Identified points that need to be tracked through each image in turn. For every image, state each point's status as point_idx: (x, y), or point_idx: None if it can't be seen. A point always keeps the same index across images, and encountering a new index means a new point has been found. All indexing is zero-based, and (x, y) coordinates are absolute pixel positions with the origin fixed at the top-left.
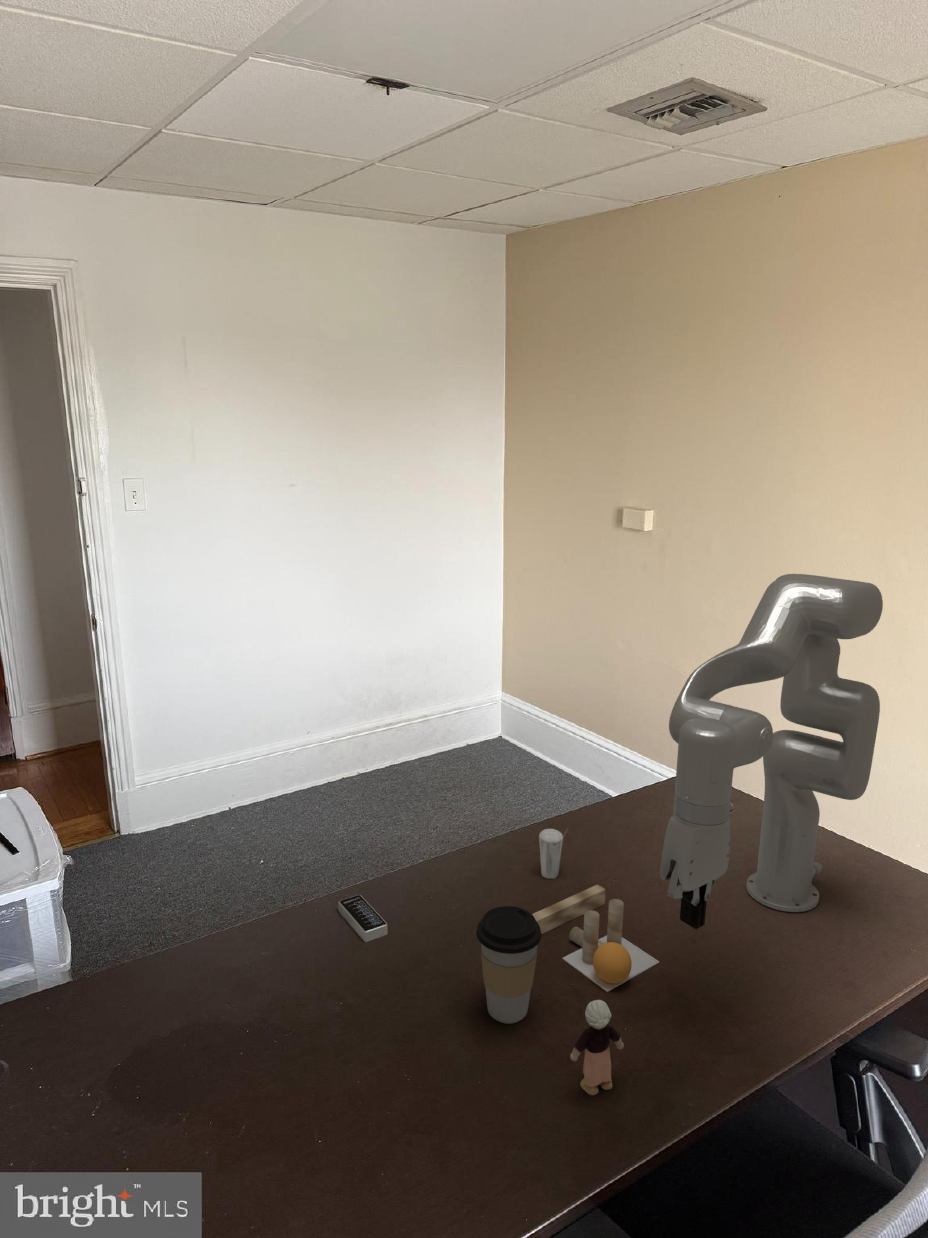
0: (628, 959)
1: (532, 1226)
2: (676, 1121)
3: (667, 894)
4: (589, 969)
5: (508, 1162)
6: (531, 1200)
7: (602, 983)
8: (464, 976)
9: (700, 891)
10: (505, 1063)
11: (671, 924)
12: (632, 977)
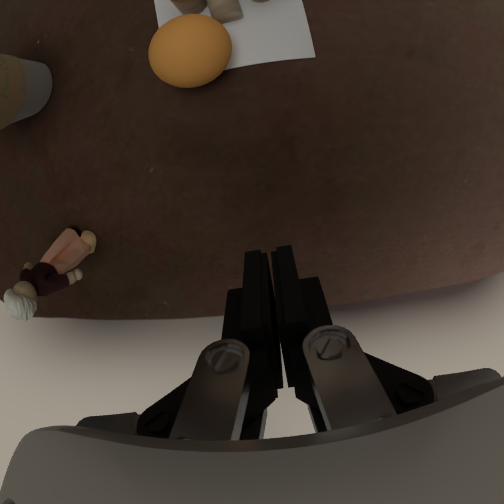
0: (205, 72)
1: None
2: (141, 310)
3: (78, 423)
4: None
5: (11, 274)
6: None
7: None
8: (25, 20)
9: (316, 403)
10: (13, 176)
11: (404, 6)
12: (238, 66)
